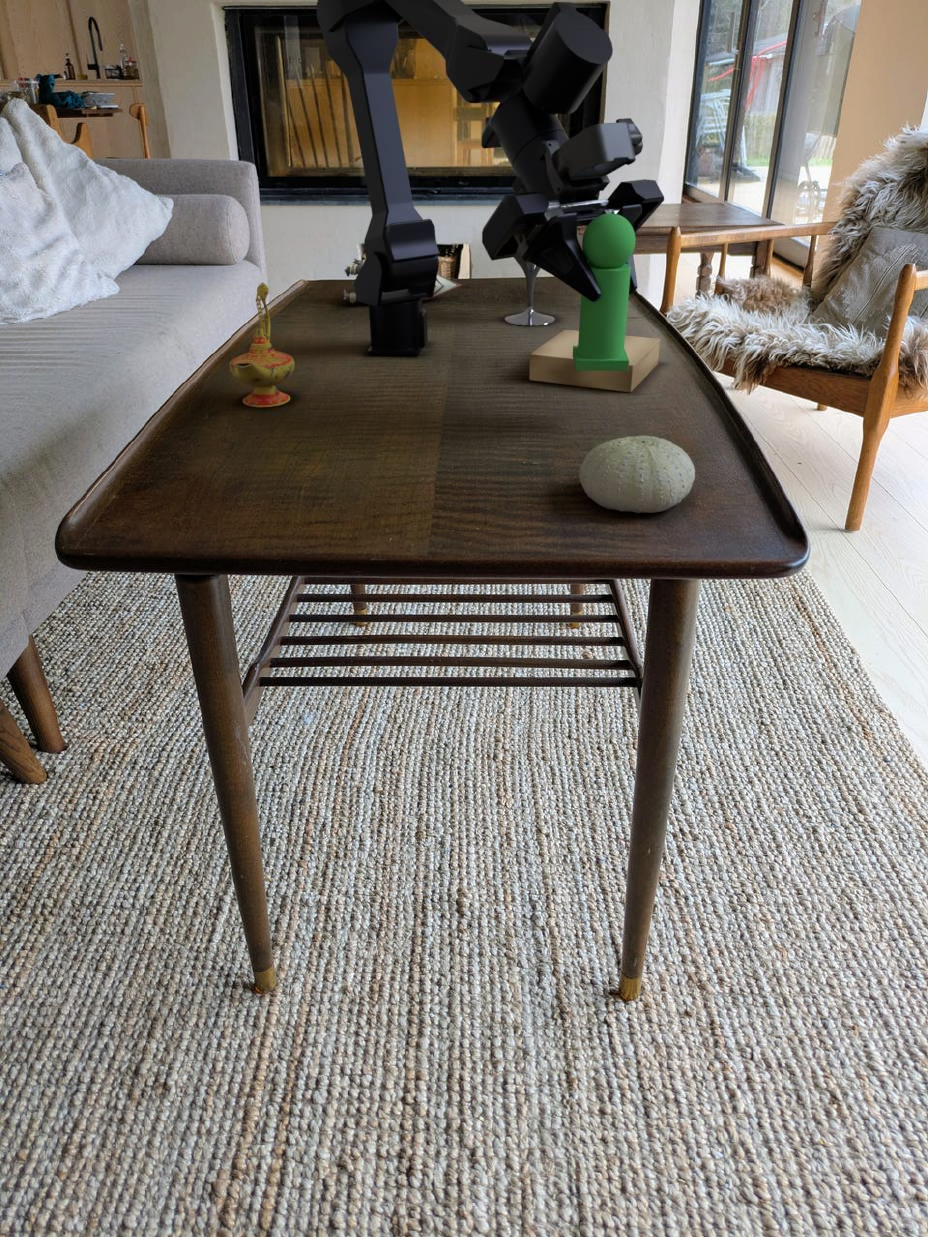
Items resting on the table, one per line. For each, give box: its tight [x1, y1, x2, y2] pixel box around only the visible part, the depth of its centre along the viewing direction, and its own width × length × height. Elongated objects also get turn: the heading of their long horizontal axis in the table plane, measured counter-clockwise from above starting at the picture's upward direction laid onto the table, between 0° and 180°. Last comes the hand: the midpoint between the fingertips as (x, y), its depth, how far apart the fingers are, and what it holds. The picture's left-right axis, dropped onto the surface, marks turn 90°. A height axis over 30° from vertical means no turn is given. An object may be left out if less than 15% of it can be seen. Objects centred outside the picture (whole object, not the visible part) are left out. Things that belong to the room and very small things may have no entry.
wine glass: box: [504, 234, 556, 327], centre depth 124 cm, size 8×8×15 cm
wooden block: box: [528, 329, 661, 393], centre depth 105 cm, size 12×12×3 cm
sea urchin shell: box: [578, 435, 696, 514], centre depth 74 cm, size 9×8×8 cm
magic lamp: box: [229, 282, 296, 408], centre depth 94 cm, size 7×18×11 cm, turn 2°
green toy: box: [573, 213, 637, 371], centre depth 84 cm, size 5×5×13 cm
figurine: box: [343, 258, 462, 304], centre depth 138 cm, size 20×6×17 cm
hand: (615, 295), depth 83 cm, fingers closed on green toy, 4 cm apart
